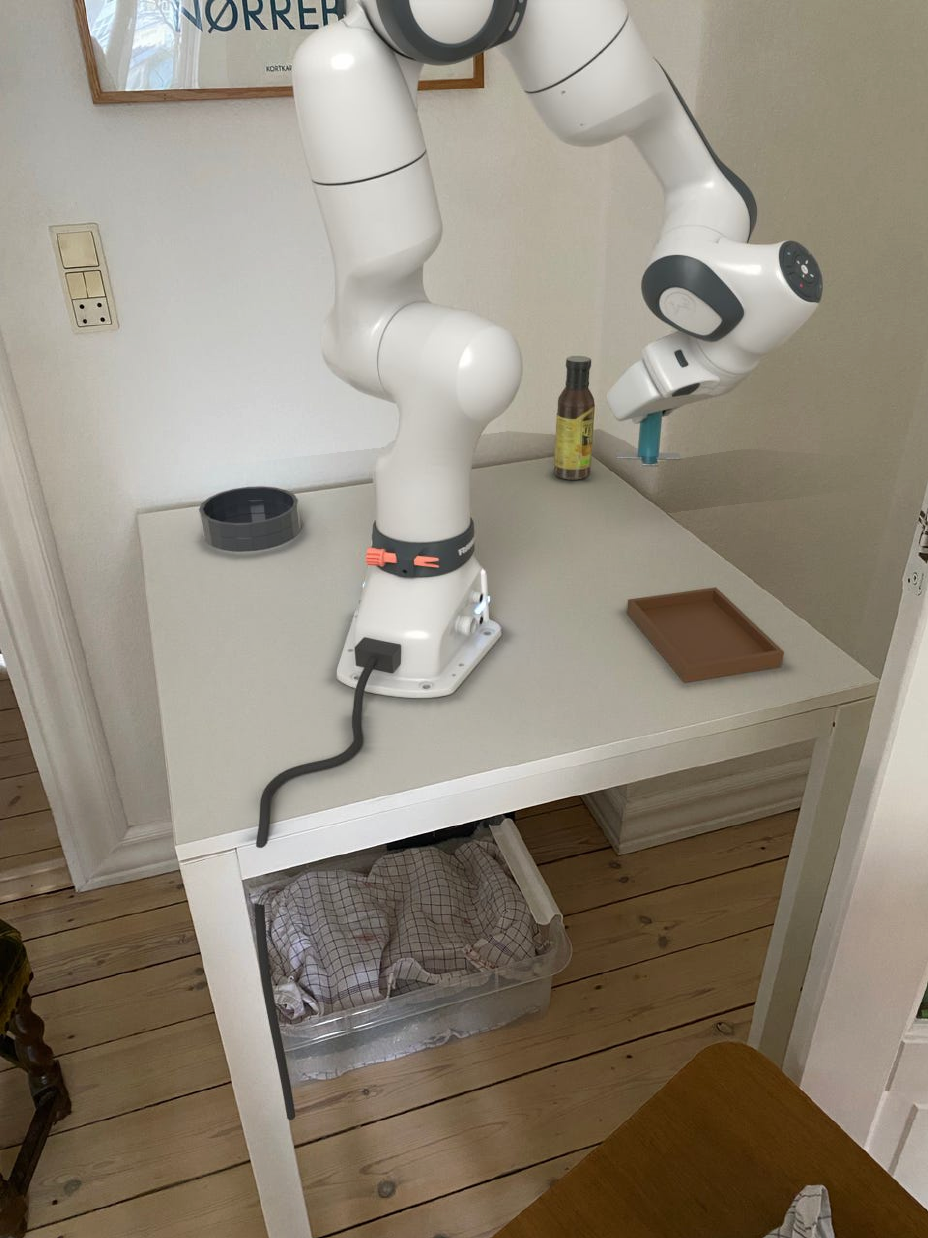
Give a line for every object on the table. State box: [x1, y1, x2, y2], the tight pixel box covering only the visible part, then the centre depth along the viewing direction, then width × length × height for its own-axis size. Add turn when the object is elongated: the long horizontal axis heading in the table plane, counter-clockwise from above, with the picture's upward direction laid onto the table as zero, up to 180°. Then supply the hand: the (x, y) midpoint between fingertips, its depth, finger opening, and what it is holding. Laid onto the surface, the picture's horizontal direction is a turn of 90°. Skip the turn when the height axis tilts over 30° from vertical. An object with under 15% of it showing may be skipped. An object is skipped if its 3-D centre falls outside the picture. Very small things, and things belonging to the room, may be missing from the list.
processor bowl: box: [198, 485, 302, 553], centre depth 137 cm, size 14×14×5 cm
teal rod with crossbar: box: [615, 411, 682, 468], centre depth 121 cm, size 8×8×10 cm
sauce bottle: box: [553, 355, 596, 481], centre depth 153 cm, size 6×6×20 cm
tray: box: [626, 587, 785, 684], centre depth 111 cm, size 16×12×2 cm
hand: (647, 415), depth 121 cm, fingers closed on teal rod with crossbar, 3 cm apart
